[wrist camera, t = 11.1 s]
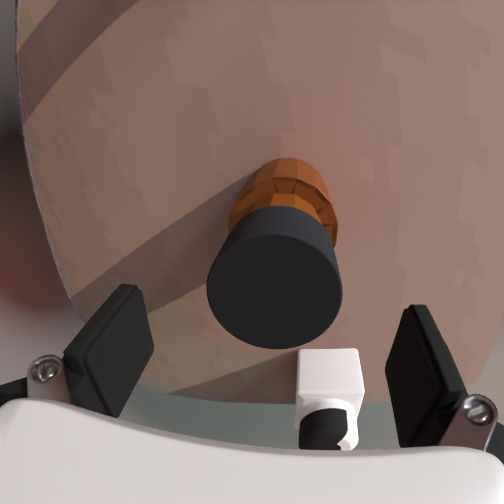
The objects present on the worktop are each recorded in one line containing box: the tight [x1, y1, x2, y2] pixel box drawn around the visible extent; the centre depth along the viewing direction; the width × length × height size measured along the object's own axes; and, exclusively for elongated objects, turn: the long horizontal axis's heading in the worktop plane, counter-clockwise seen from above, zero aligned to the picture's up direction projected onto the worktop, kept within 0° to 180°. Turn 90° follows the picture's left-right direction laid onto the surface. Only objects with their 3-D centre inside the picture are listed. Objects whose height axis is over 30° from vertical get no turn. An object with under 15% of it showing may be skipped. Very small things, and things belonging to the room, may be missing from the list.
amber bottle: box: [229, 158, 338, 248], centre depth 23 cm, size 7×7×13 cm
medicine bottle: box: [294, 348, 365, 450], centre depth 32 cm, size 7×7×12 cm
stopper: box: [207, 206, 343, 349], centre depth 17 cm, size 6×6×8 cm
